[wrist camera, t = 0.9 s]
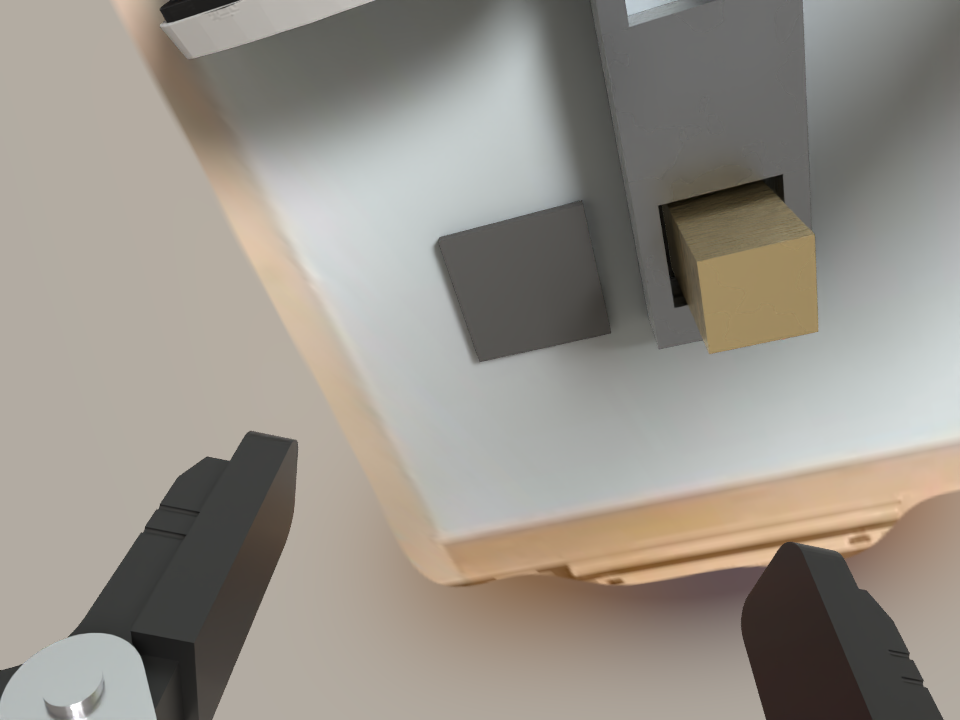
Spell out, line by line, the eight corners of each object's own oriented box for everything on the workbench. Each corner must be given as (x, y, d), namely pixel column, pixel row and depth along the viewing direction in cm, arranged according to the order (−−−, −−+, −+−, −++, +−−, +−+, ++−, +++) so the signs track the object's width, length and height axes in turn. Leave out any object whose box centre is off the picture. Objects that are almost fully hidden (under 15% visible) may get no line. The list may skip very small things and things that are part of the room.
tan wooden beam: (749, 167, 30) (814, 234, 23) (756, 248, 32) (818, 331, 25) (659, 190, 31) (696, 262, 24) (671, 268, 33) (709, 353, 26)
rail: (761, -262, 22) (791, -287, 20) (792, 287, 33) (814, 316, 30) (556, -185, 24) (559, -199, 21) (648, 318, 34) (658, 349, 32)
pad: (581, 200, 31) (582, 204, 31) (609, 327, 35) (611, 333, 34) (439, 237, 33) (438, 242, 32) (480, 355, 36) (479, 361, 36)
